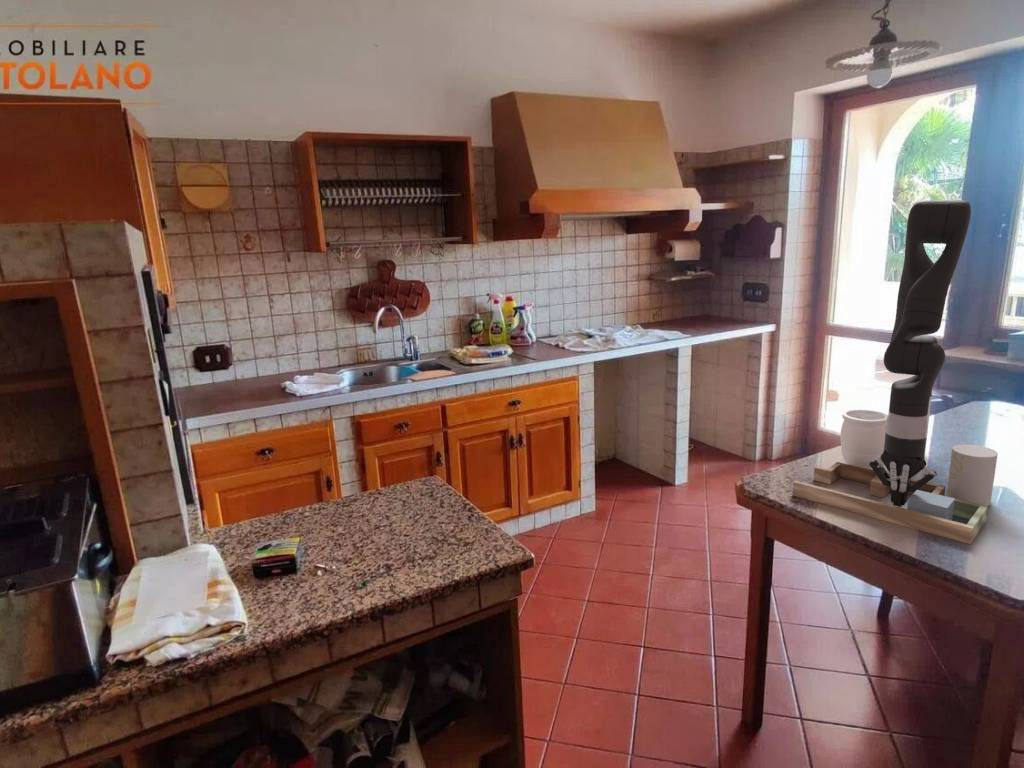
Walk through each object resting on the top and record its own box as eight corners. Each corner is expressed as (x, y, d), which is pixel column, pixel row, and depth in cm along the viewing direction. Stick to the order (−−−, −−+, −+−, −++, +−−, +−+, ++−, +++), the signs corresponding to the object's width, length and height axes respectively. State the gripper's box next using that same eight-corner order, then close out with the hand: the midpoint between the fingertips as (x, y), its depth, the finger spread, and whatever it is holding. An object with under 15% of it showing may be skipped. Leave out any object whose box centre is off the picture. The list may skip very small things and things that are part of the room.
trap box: (825, 471, 156) (825, 459, 155) (992, 511, 130) (994, 496, 130) (792, 495, 144) (793, 482, 143) (970, 544, 118) (972, 528, 117)
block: (914, 510, 133) (917, 489, 132) (952, 519, 128) (955, 498, 127) (906, 519, 129) (908, 498, 128) (944, 529, 124) (947, 508, 123)
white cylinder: (947, 489, 142) (953, 442, 139) (991, 496, 137) (998, 448, 134) (944, 501, 136) (950, 453, 133) (990, 510, 131) (997, 459, 128)
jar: (877, 462, 160) (882, 409, 157) (889, 477, 151) (895, 421, 147) (834, 460, 163) (837, 408, 159) (843, 475, 153) (847, 420, 150)
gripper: (947, 434, 126) (938, 508, 130) (878, 422, 136) (871, 491, 140) (936, 443, 121) (927, 520, 126) (866, 430, 131) (859, 502, 135)
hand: (898, 505), depth 133 cm, fingers closed
